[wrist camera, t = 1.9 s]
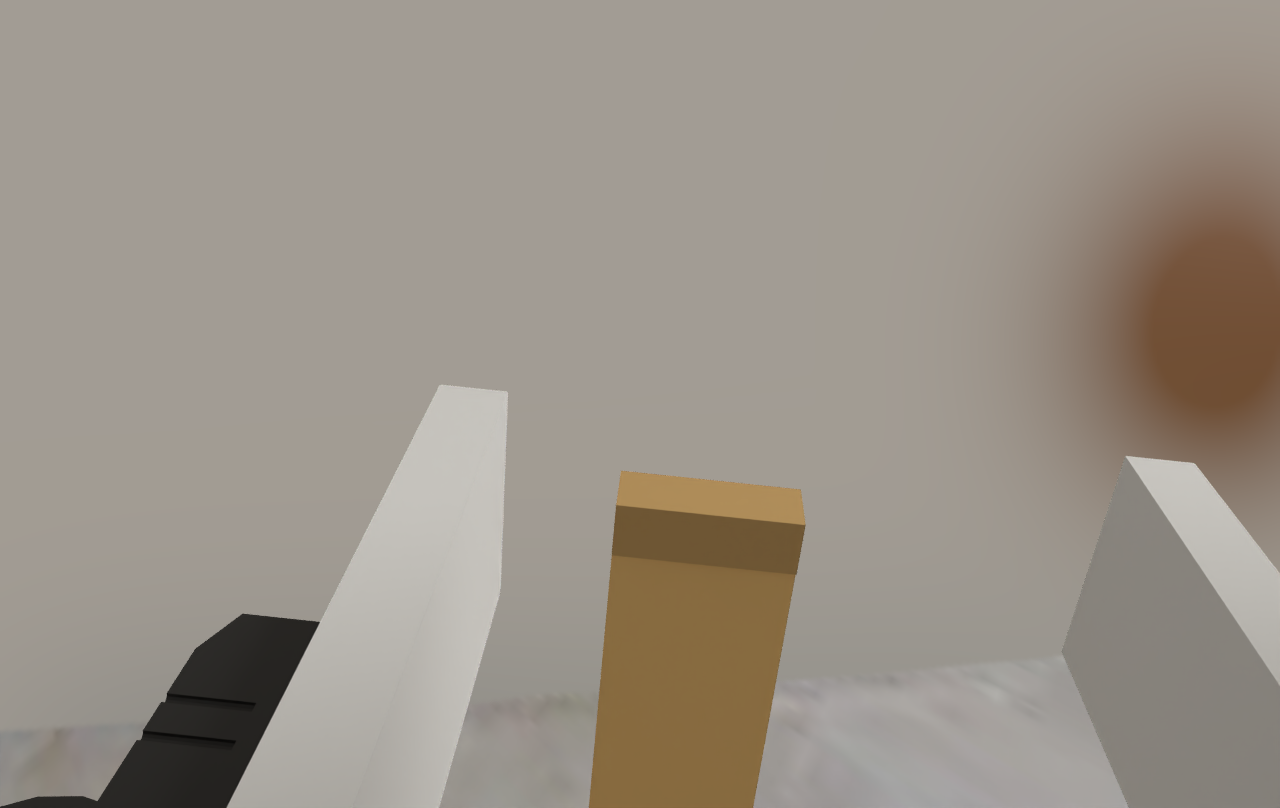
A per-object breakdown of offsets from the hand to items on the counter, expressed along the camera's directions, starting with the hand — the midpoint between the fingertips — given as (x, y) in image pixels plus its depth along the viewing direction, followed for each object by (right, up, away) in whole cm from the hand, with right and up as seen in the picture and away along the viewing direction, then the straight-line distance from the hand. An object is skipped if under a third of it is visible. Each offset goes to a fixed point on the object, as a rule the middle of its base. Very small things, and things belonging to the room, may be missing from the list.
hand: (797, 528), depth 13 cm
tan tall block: (-1, -18, +26) cm, 32 cm away
